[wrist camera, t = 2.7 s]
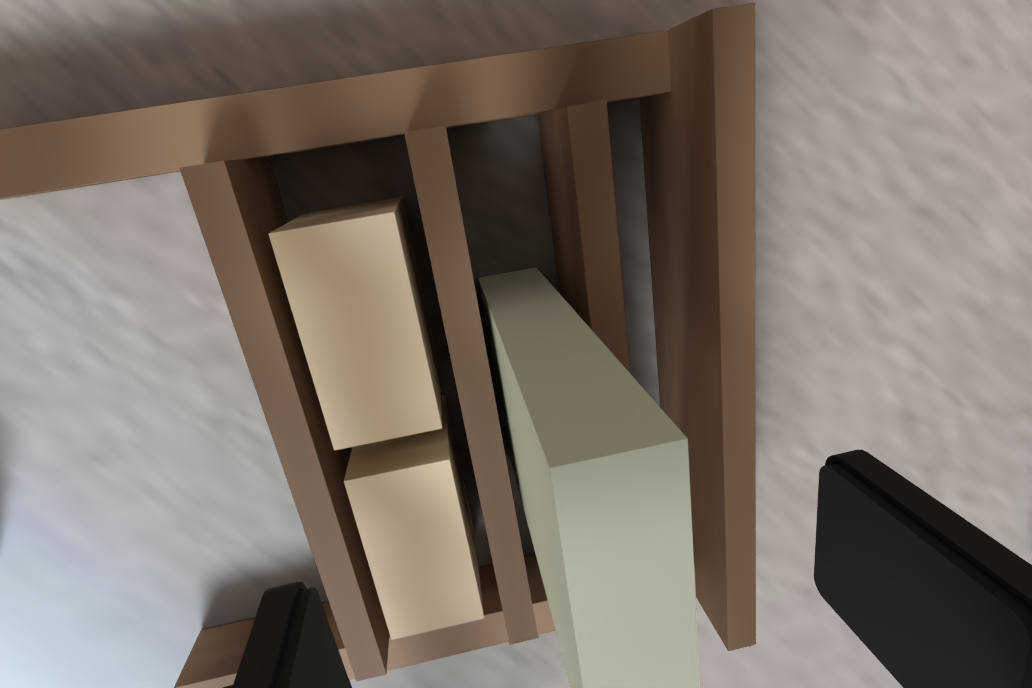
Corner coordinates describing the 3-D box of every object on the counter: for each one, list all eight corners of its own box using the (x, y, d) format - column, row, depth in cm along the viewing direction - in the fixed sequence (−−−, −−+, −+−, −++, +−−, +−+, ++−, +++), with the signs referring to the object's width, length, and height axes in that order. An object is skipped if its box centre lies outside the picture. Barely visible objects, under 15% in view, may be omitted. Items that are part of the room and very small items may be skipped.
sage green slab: (536, 267, 19) (687, 438, 8) (561, 445, 22) (703, 767, 10) (477, 277, 19) (550, 467, 8) (509, 456, 21) (599, 795, 10)
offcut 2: (445, 394, 20) (449, 459, 16) (474, 529, 22) (484, 618, 18) (361, 410, 20) (343, 481, 16) (398, 546, 22) (391, 640, 18)
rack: (667, 40, 17) (755, 2, 13) (692, 547, 24) (755, 644, 20) (-22, 144, 16) (-213, 144, 11) (213, 658, 22) (157, 793, 18)
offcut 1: (402, 196, 18) (394, 212, 14) (439, 368, 20) (442, 428, 16) (306, 212, 18) (268, 233, 13) (354, 385, 20) (334, 450, 16)
